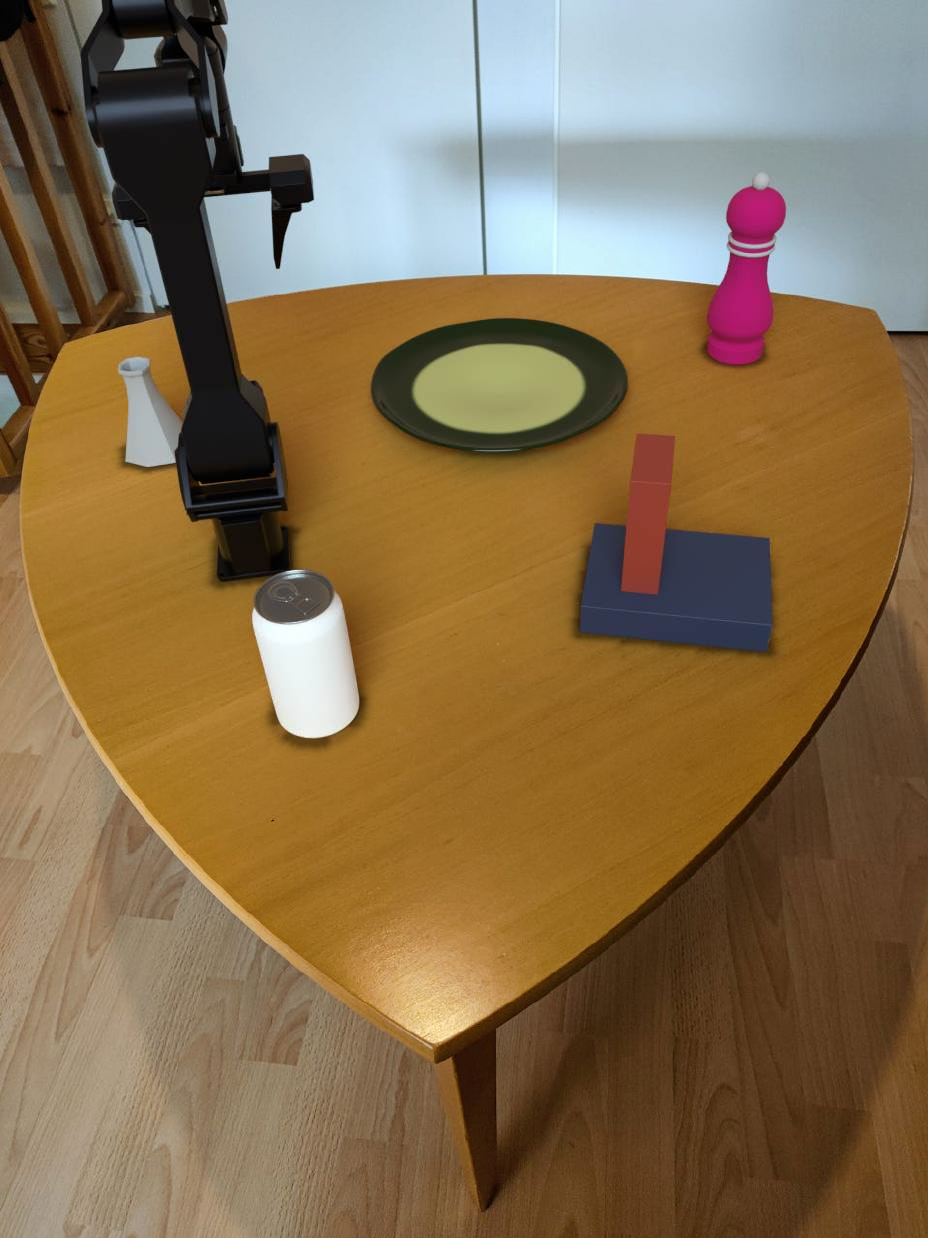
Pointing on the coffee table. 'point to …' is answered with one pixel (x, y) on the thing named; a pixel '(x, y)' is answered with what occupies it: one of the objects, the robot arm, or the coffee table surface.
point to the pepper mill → (746, 275)
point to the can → (306, 653)
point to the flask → (148, 417)
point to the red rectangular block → (647, 512)
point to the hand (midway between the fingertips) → (233, 271)
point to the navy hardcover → (683, 591)
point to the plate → (499, 385)
